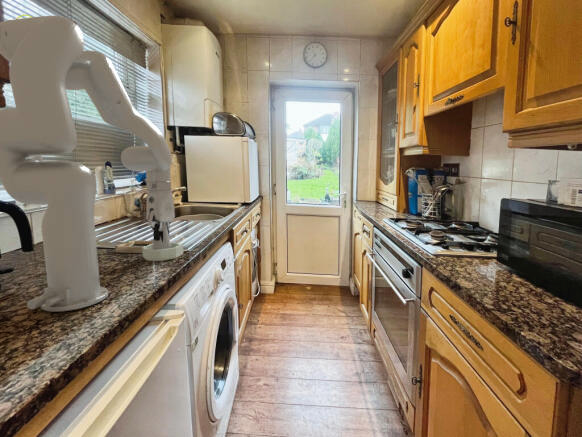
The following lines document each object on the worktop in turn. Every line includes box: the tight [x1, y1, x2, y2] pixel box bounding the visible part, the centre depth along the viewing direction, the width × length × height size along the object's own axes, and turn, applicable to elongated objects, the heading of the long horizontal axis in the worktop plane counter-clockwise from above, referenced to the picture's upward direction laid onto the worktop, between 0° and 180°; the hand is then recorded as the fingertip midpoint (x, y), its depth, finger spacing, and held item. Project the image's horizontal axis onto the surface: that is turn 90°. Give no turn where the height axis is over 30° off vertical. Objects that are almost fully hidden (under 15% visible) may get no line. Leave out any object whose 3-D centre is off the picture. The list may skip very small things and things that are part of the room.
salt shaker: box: [152, 220, 171, 249], centre depth 101 cm, size 6×6×13 cm
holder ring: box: [142, 241, 184, 262], centre depth 102 cm, size 12×12×4 cm
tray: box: [114, 239, 154, 254], centre depth 111 cm, size 11×11×2 cm
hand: (161, 241), depth 101 cm, fingers closed on salt shaker, 3 cm apart
